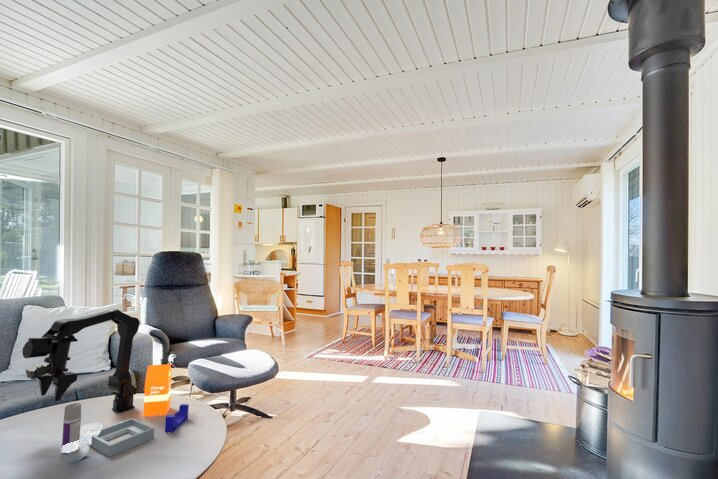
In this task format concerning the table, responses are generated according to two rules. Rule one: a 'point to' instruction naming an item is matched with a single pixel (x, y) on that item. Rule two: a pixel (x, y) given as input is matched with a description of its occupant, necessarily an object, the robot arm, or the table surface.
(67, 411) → the container
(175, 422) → the cable clip
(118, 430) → the walled box
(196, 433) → the table surface
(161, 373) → the orange juice
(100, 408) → the table surface
